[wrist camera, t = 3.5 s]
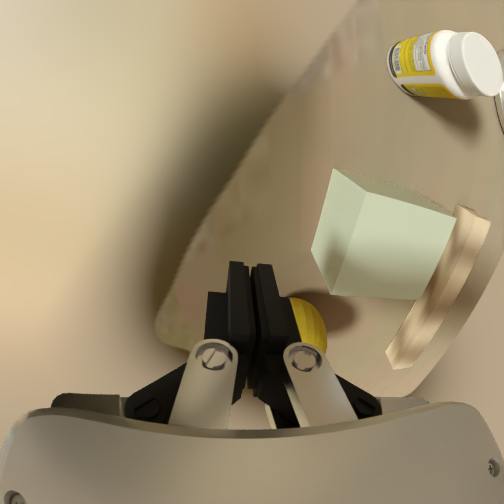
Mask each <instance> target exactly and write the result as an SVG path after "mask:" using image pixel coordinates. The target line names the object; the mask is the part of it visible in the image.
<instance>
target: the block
mask: <svg viewBox="0 0 504 504" xmlns="http://www.w3.org/2000/svg"><path fill="white" fill-rule="evenodd" d="M456 219H457V218H455V217H454V216H453V215H451V214H450V213H448V212H447V211H445V210H444V209H442V208H441V207H439V206H438V205H436V204H435V203H433V202H432V201H430V200H429V199H427V198H425V197H424V196H422V195H421V194H419V193H417V192H416V191H413V190H410V189H407V188H404V187H401V186H398V185H395V184H391V183H388V182H384V181H381V180H378V179H374V178H370V177H367V176H363V175H359V174H356V173H352V172H348V171H344V170H340V169H335V168H333V171H332V175H331V179H330V183H329V187H328V191H327V195H326V198H325V202H324V206H323V209H322V213H321V217H320V220H319V224H318V227H317V231H316V234H315V238H314V241H313V245H312V248H311V252H312V254H313V256H314V259H315V261H316V263H317V265H318V267H319V270H320V272H321V274H322V276H323V279H324V281H325V283H326V285H327V288H328V290H329V292H330V295H342V296H356V297H371V298H387V299H406V300H420V298H421V296H422V294H423V292H424V290H425V288H426V286H427V285H428V283H429V281H430V279H431V277H432V275H433V273H434V271H435V268H436V266H437V264H438V262H439V260H440V258H441V256H442V253H443V251H444V249H445V247H446V244H447V242H448V240H449V237H450V235H451V232H452V230H453V227H454V225H455V222H456Z"/></svg>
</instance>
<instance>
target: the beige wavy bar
mask: <svg viewBox="0 0 504 504" xmlns="http://www.w3.org/2000/svg"><path fill="white" fill-rule="evenodd" d="M453 216H454V217H455V218H457V219H456V222H455V225H454V227H453V230H452V232H451V235H450V237H449V240H448V242H447V244H446V247H445V249H444V251H443V253H442V256H441V258H440V260H439V262H438V264H437V266H436V268H435V271H434V273H433V275H432V277H431V279H430V281H429V283H428V285H427V286H426V288H425V290H424V292H423V294H422V296H421V298H420V300H416V301H415V303H414V304H413V306H412V308H411V310H410V312H409V314H408V315H407V317H406V319H405V321H404V322H403V324H402V326H401V327H400V329H399V331H398V332H397V334H396V336H395V337H394V339H393V341H392V342H391V344H390V345H389V347H388V348H387V350H386V352H385V353H386V355H387V357H388V359H389V361H390V363H391V365H392V368H393V370H394V369H401V368H408V367H411V366H412V365H413V364H414V362H415V361H416V360H417V358H418V357H419V356H420V354H421V353H422V352H423V350H424V349H425V347H426V346H427V344H428V343H429V342H430V340H431V339H432V337H433V336H434V334H435V333H436V331H437V330H438V328H439V326H440V325H441V323H442V322H443V320H444V318H445V317H446V315H447V314H448V312H449V310H450V308H451V307H452V305H453V303H454V302H455V300H456V298H457V296H458V294H459V293H460V291H461V289H462V287H463V285H464V283H465V281H466V279H467V277H468V275H469V273H470V271H471V269H472V267H473V265H474V263H475V260H476V258H477V256H478V254H479V251H480V249H481V247H482V244H483V242H484V240H485V237H486V235H487V232H488V229H489V227H490V224H491V222H490V221H489V220H488V219H486V218H485V217H483V216H482V215H480V214H479V213H477V212H476V211H474V210H472V209H470V208H467V207H464V206H462V205H459V204H457V205H456V208H455V211H454V214H453Z"/></svg>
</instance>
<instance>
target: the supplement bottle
mask: <svg viewBox="0 0 504 504" xmlns="http://www.w3.org/2000/svg"><path fill="white" fill-rule="evenodd" d="M387 66H388V70H389V73H390V75H391V77H392V79H393V80H394V82H395V83H396V84H397V85H398V86H399V87H400V88H401V89H402V90H403V91H404V92H406V93H408V94H410V95H413V96H423V97H440V98H452V99H462V100H469V99H473V98H475V97H476V96H477V95H478V96H487V97H493V96H496V95H497V94H498V93H499V92H500V90H501V87H502V83H503V74H502V68H501V64H500V61H499V58H498V56H497V54H496V52H495V50H494V48H493V47H492V45H491V44H490V43H489V42H488V41H487V40H486V39H485V38H484V37H483V36H482V35H480V34H478V33H475V32H460V33H456V32H454V31H450V30H442V31H437V32H433V33H429V34H425V35H421V36H417V37H414V38H410V39H407V40H403V41H400V42H398V43H396V44H394V45H393V46H392V47H391V48H390V50H389V52H388V55H387Z"/></svg>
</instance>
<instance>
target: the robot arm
mask: <svg viewBox="0 0 504 504" xmlns="http://www.w3.org/2000/svg"><path fill="white" fill-rule="evenodd" d="M498 58H499V61H500V64H501V68H502V74H503V83H502V87H501V90H500V92H499V93H498V94H497V95H496V96H495V102H496V106H497V112H498V115H499V119H500V123H501V126H502V128H503V131H504V50H502V51H501V52H500V53H499V54H498ZM246 378H247V385H248V389H253V396H254V397H258V398H259V399H260V400H261V401H263V402H264V403H265V409H266V413H267V416H268V420H269V423H270V426H271V429H267V430H266V429H265V430H230V429H229V430H228V422H229V416H230V409H231V405H233V404H234V403H235V402H236V401H237V400H239V399H240V398H241V394H242V389H244V387H245V383H246ZM0 504H504V460H503V458H502V455H501V452H500V450H499V448H498V445H497V443H496V441H495V439H494V437H493V435H492V433H491V431H490V429H489V427H488V425H487V423H486V422H485V420H484V418H483V417H482V415H481V414H480V413H479V412H478V410H477V409H476V408H474V407H473V406H471V405H468V404H465V403H460V402H437V403H429V402H428V401H427V400H425V399H423V398H399V397H380V398H379V399H376V398H375V397H373V396H372V395H371V394H369V393H367V392H365V391H364V390H362V389H360V388H358V387H357V386H355V385H353V384H351V383H350V382H348V381H346V380H345V379H343V378H341V377H340V376H338V375H336V374H335V373H334V371H333V370H332V368H331V366H330V364H329V362H328V360H327V358H326V356H325V355H324V353H323V352H322V351H321V350H320V349H319V348H318V347H316V346H314V345H312V344H309V343H305V342H302V339H301V336H300V332H299V329H298V325H297V322H296V318H295V315H294V311H293V308H292V305H291V301H290V299H289V298H288V297H280V296H279V292H278V288H277V284H276V280H275V276H274V272H273V268H272V265H270V264H257V267H252V269H251V275H249V267H248V266H244V263H243V262H235V261H230V262H229V270H228V279H227V288H226V293H220V292H209V291H208V300H207V311H206V322H205V334H204V340H203V341H200V342H198V343H197V344H196V345H195V346H194V347H193V348H192V350H191V352H190V356H189V359H188V362H187V363H185V364H183V365H182V366H180V367H178V368H177V369H175V370H173V371H172V372H170V373H168V374H167V375H165V376H163V377H161V378H160V379H158V380H156V381H154V382H153V383H151V384H149V385H147V386H146V387H144V388H142V389H141V390H139V391H137V392H135V393H133V394H132V395H131V396H130V397H120V395H106V394H104V395H103V394H78V393H62V394H60V395H58V396H57V397H56V398H55V399H54V400H53V401H52V404H51V407H50V408H40V409H36V410H31V411H28V412H26V413H24V414H23V415H21V416H20V417H19V418H18V419H17V420H16V421H15V422H14V424H13V426H12V427H11V429H10V431H9V433H8V435H7V437H6V439H5V442H4V444H3V447H2V450H1V452H0Z"/></svg>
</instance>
